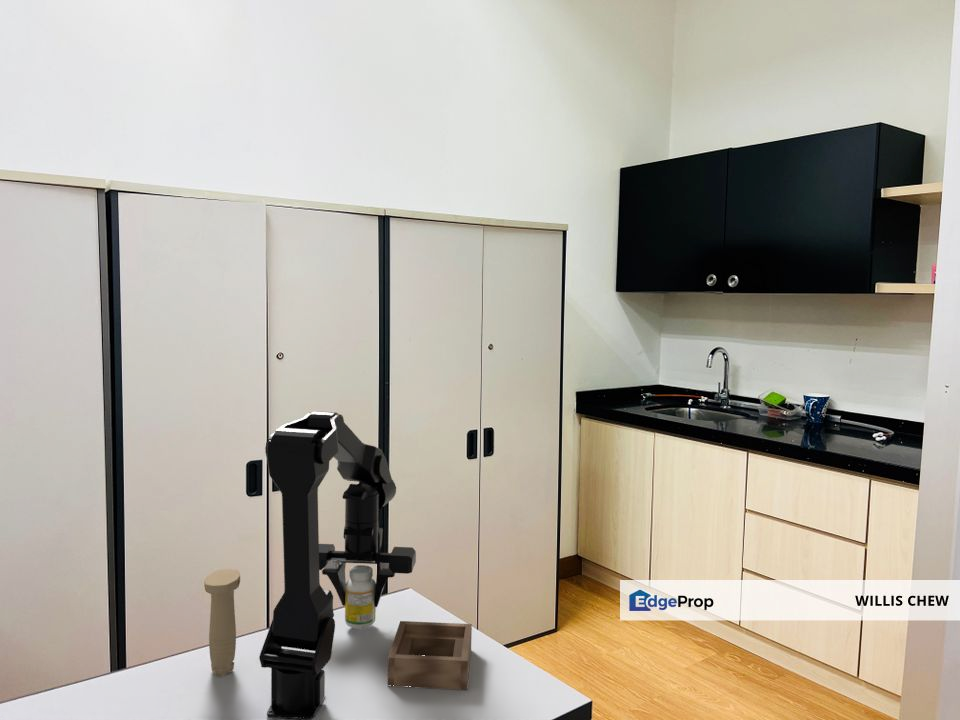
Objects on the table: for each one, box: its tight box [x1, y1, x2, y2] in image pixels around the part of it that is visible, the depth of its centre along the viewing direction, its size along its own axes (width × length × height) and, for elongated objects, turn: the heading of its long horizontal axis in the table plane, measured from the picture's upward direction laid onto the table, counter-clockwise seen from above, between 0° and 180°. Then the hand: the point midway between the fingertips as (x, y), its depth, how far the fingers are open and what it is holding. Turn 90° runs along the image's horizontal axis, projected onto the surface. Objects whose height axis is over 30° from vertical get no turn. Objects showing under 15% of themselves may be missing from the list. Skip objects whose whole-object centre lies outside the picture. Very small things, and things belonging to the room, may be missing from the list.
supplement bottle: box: [344, 564, 377, 629], centre depth 120 cm, size 5×5×10 cm
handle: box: [203, 568, 241, 677], centre depth 105 cm, size 5×6×15 cm
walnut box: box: [387, 620, 473, 691], centre depth 108 cm, size 12×12×4 cm
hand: (360, 605), depth 121 cm, fingers closed on supplement bottle, 5 cm apart
